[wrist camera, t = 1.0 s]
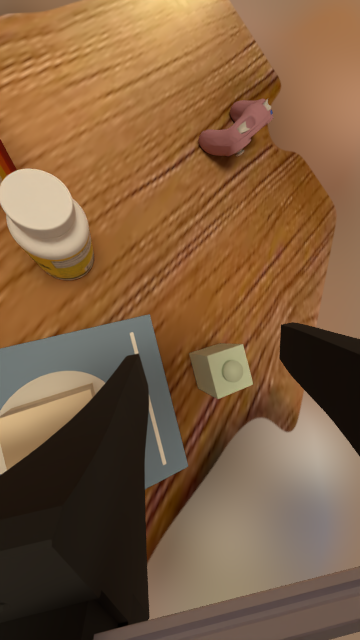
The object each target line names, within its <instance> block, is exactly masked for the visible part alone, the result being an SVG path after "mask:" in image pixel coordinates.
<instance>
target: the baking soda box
mask: <svg viewBox="0 0 360 640" xmlns="http://www.w3.org/2000/svg"><path fill="white" fill-rule="evenodd" d="M15 171H17V170H16V168H15V166H14V164H13V162H12V160H11V158H10V157H9V155H8V153H7V151H6V149H5V147H4V145H3V143H2V142H1V140H0V185H1V183H2V181H3V180H4V179H5V178H6V177H7V176H8V175H9V174H11V173H12V172H15Z"/></svg>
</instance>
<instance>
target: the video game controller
mask: <svg viewBox="0 0 360 640" xmlns="http://www.w3.org/2000/svg"><path fill="white" fill-rule="evenodd" d="M230 116H231V118H232V119H233V121H234V122H235V123H234V124H233V125H232V126H231V127H230V128H228V129H224V130H206V131H203V132H202V133H201V135H200V136H199V145H200V146H201V148H202V149H203V150H204V151H205V152H207V153H209V154H212V155H218V156H230V155H233V154H234V153H237V154H236V155H235V156H240V155H242V153H243V152H244V150H242V149H243V148H244V147H245V146H246V145H247V144H248V143H249V142H250V141H251V137H252V136H253V135H254V134H255V133H256V132H258V131H259V130H260V129H261V128H262V127H264V126H265V125H266V124H268V123H269V122H270V121H271V120H272V119H273V115H272V110H271V106H270V105H269V104H268V99H267V100H266V101H265V99H260V100H257V101H246V100H243V101H238V102H236V103H234V104H233V106H232V107H231V110H230Z"/></svg>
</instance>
